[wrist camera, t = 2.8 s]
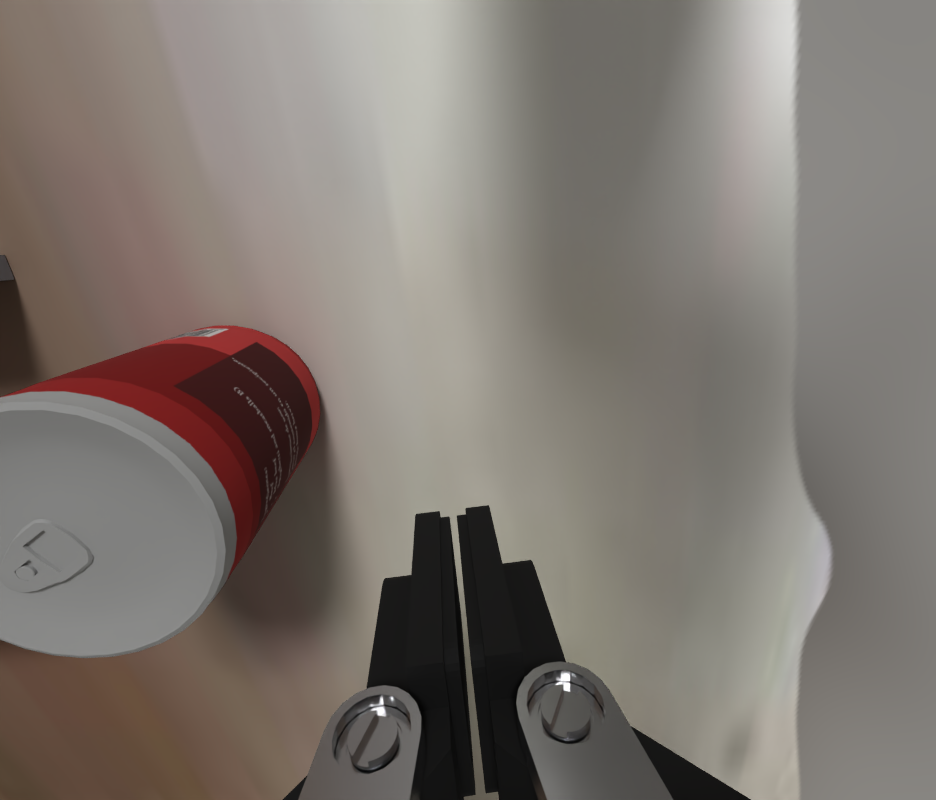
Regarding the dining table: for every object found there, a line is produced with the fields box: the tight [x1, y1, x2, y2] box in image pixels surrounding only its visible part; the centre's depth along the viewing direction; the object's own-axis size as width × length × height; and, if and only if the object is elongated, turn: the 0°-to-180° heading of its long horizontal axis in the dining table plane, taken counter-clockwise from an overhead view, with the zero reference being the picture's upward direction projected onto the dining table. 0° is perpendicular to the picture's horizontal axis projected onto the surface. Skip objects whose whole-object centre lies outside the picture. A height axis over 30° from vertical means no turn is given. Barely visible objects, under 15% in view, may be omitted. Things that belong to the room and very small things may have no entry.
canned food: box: [0, 326, 320, 658], centre depth 16 cm, size 8×8×11 cm
